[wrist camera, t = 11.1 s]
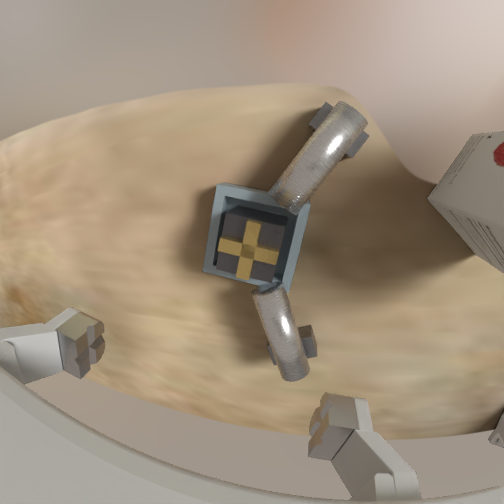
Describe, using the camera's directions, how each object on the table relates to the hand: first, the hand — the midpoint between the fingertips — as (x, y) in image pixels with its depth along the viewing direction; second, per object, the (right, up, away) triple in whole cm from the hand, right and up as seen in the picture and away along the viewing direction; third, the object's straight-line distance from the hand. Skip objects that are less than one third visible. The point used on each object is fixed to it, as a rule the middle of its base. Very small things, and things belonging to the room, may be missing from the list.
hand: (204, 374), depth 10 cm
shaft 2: (+7, +12, +15) cm, 21 cm away
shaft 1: (+5, -2, +20) cm, 21 cm away
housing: (+2, +6, +18) cm, 19 cm away
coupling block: (+2, +6, +18) cm, 19 cm away
